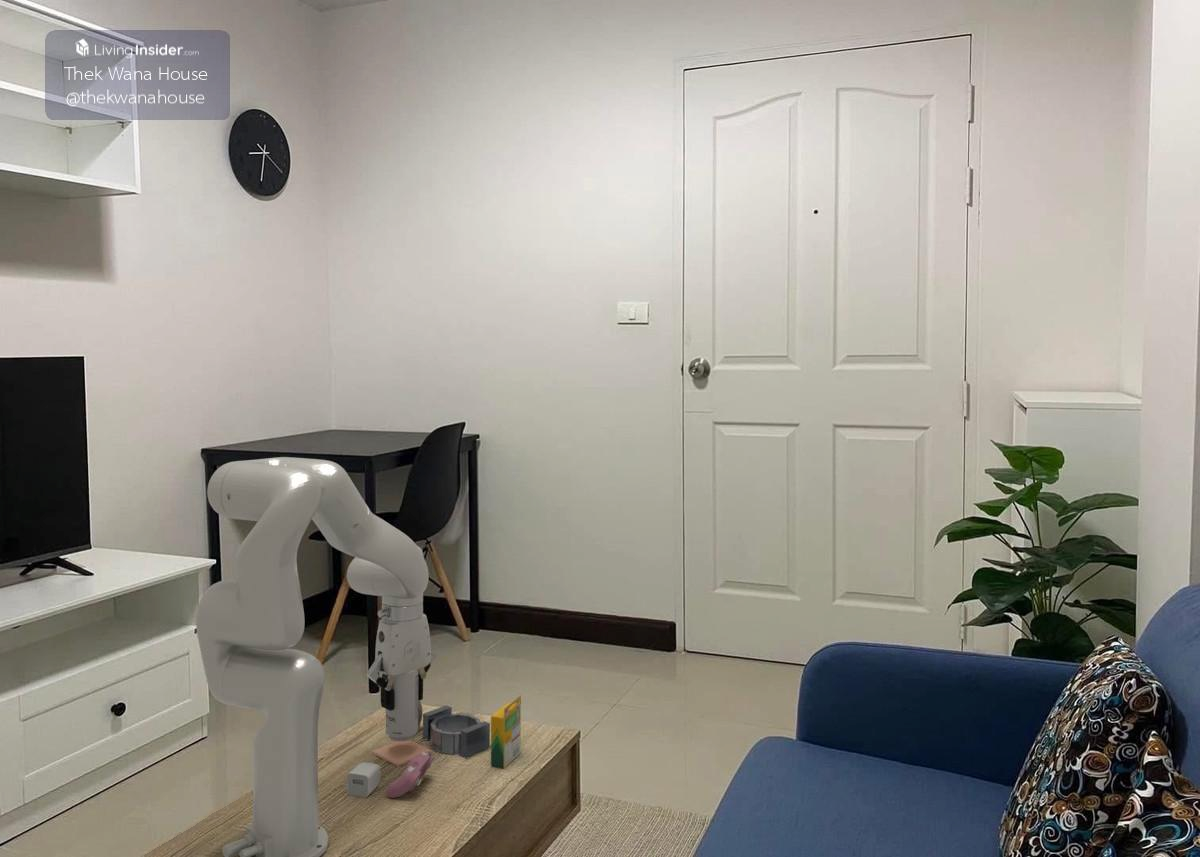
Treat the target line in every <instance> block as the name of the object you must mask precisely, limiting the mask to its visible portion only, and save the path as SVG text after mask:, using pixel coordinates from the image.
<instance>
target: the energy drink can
mask: <svg viewBox="0 0 1200 857" xmlns="http://www.w3.org/2000/svg"><path fill="white" fill-rule="evenodd" d="M387 679H388V675H387V678H386V682H387ZM391 689H393V690H394V710H392V711H390V710H387V709H385V734H386V735H387V736H388V738H389V740H391V741H394V742H396V741H407V740H412V739H413V738H415V736H416V734H417V733H418V732H419V727H418V669H417V670H411V671H409V672H407V673H405V674H402V675H399V676H395V679H394V682H393V685H392V688H391Z"/></svg>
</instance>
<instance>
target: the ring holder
mask: <svg viewBox="0 0 1200 857" xmlns="http://www.w3.org/2000/svg"><path fill="white" fill-rule="evenodd" d="M452 710H453V708H452V707H451V706H449V705H443V706H441V707H438V708H436V709H435V708H434V709H431V710H430V711H427V712H423V714H422V739H424V740H426V739H427V740H426V741H429V743H430V746H431V750H434V751H436V752H439V753H440V754H445V753H446V754H447V755H460V756H461V757H462V758H464V757H465V758H464V759H468V758H470V757H472V755H473V756H475V755H477V754H480V753H482V752H485V751H487V750H489V749H491V722H488V721H481V719H480V718H479V717H477V716H474V715H472V714H469V713H467V714H466V713H457V712H456V713H452ZM488 748H489V749H488ZM486 749H487V750H486ZM481 751H482V752H481ZM479 752H480V753H479ZM476 753H477V754H476ZM474 754H475V755H474ZM467 757H468V758H467Z"/></svg>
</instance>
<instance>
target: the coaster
mask: <svg viewBox="0 0 1200 857" xmlns="http://www.w3.org/2000/svg"><path fill="white" fill-rule="evenodd" d="M422 752H424V753H428V754H430V755H432V753H433V749H430V748H428V747H426V746H424V745H422V744H419V743H417V742H414V741H413V740H412V739H410V740H407V741H394V742H391V743H389V744H386V745H383V746H382V747H378V748H375V749H373V750H371V754H372V755H373V756H376V757H378V758H379V759H382V760H383V761H385V760H386V761H385V762H387V763H389V762H390V764H391V763H392V765H394V766H395V765H396V766H395V767H396V768H398V767H401V766H403V765H407V764H409V762H410V760H411V759H412V758H413V757H415V756H417V755H419V754H421V753H422Z"/></svg>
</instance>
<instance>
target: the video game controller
mask: <svg viewBox="0 0 1200 857" xmlns="http://www.w3.org/2000/svg"><path fill="white" fill-rule="evenodd" d="M434 759H435V756H434V755H432V754H428V753H424V752H422V753H421V754H419V755H417V756H415V757H413V758H412V759H411V760H410V762H408V763H406V766H405V767H404V771H403V773H402V774H401V776H399V777H398V778H397V779H396V780H394V781H393V782H391V783H390V784H389V785H388V786H387V787H386V790H385V794H386V797H388V798H389V799H394V798H395V799H396V798H399V797H401V796H403V795H404V794H406V793H408V794H411V793H412V792H413V790H414V789H415V787H418V786H420V785H421V783H422V782H423V780H424V776H425V774H426V773H427V771H428V770H429V769H430V767H431V766H432V764H433V761H434Z"/></svg>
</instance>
